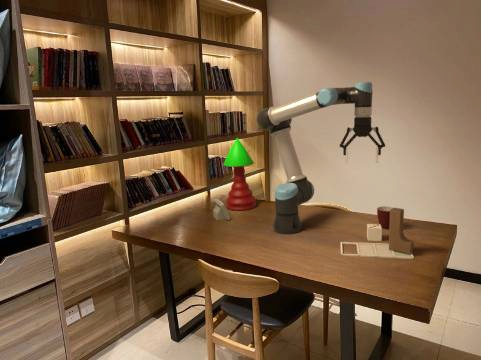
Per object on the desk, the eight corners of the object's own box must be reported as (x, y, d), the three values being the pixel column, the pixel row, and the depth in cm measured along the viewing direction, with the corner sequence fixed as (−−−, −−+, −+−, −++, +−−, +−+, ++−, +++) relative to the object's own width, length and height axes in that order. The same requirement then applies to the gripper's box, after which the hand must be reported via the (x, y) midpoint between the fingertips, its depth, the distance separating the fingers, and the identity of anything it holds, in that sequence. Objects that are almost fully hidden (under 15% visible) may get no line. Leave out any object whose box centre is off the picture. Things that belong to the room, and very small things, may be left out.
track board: (340, 255, 155) (340, 254, 155) (340, 243, 168) (340, 241, 168) (414, 259, 148) (414, 257, 148) (407, 245, 161) (407, 244, 161)
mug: (400, 227, 183) (401, 208, 181) (396, 232, 177) (397, 212, 175) (379, 223, 190) (380, 205, 188) (374, 228, 184) (375, 209, 182)
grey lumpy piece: (230, 221, 209) (229, 203, 206) (215, 222, 207) (213, 204, 205) (227, 213, 224) (226, 196, 222) (212, 214, 223) (211, 197, 221)
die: (367, 240, 169) (368, 228, 168) (366, 235, 175) (367, 223, 174) (381, 240, 168) (381, 228, 167) (380, 236, 174) (380, 224, 172)
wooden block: (413, 251, 154) (415, 210, 150) (410, 254, 151) (412, 213, 147) (392, 246, 160) (393, 207, 156) (388, 249, 156) (389, 209, 153)
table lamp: (246, 212, 223) (241, 139, 213) (219, 209, 234) (214, 139, 224) (261, 204, 239) (258, 135, 229) (236, 201, 250) (232, 135, 240)
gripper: (334, 117, 167) (334, 163, 171) (393, 116, 160) (390, 163, 165) (335, 116, 174) (334, 160, 178) (390, 115, 167) (388, 160, 172)
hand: (361, 162), depth 172 cm, fingers open, 13 cm apart
